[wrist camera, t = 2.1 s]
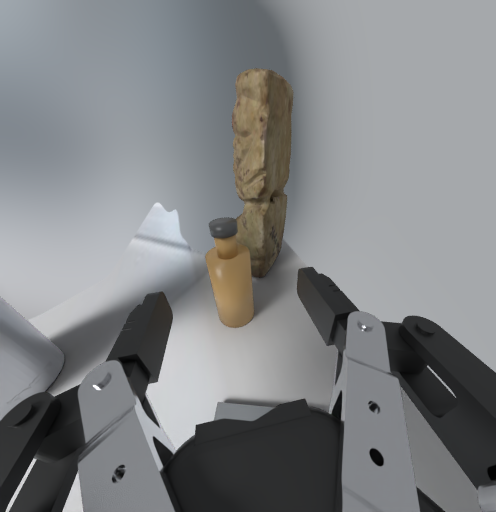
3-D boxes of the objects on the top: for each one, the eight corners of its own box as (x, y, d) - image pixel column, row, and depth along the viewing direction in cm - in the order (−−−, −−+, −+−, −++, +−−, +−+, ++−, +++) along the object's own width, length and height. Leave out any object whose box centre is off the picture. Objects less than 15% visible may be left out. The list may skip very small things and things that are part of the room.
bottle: (215, 326, 26) (190, 233, 18) (223, 298, 31) (206, 214, 23) (252, 328, 26) (244, 232, 17) (255, 299, 30) (249, 213, 22)
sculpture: (252, 246, 46) (243, 92, 30) (287, 252, 42) (297, 80, 26) (226, 273, 37) (193, 74, 21) (267, 284, 33) (265, 51, 17)
